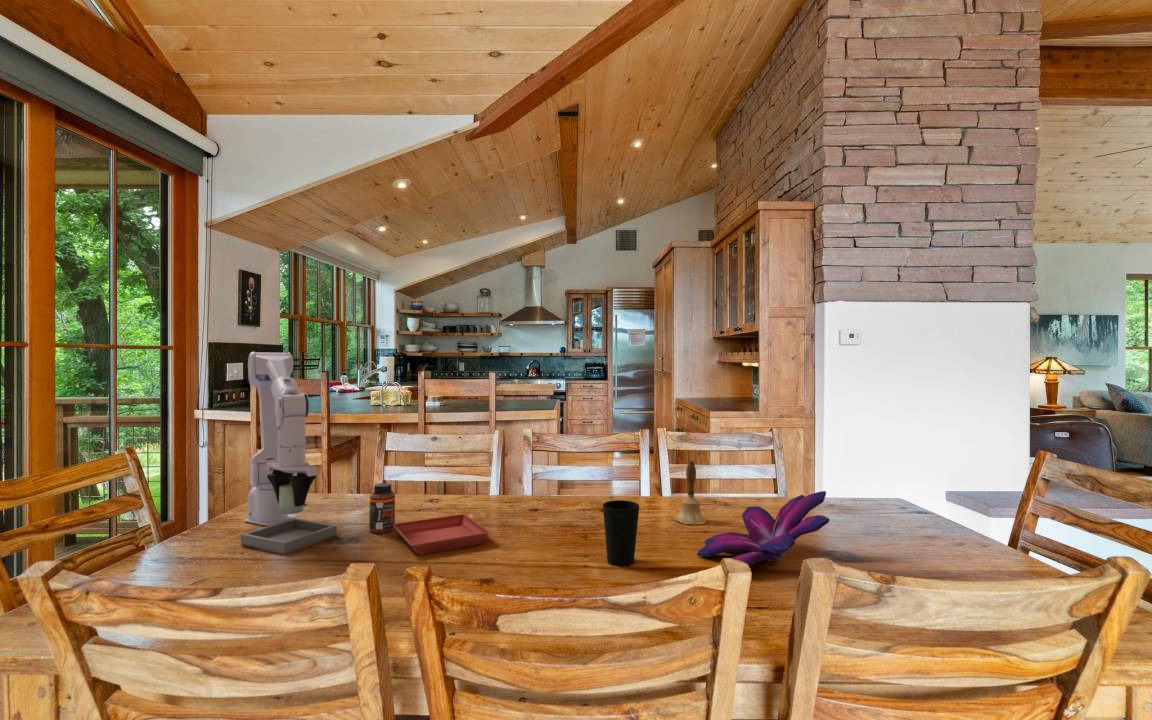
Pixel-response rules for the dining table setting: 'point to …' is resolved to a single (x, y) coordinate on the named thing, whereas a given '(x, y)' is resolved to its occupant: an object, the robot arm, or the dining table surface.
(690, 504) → the hand bell
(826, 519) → the decorative flower
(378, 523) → the supplement bottle
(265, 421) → the robot arm
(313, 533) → the tray
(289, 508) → the green cylinder
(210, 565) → the dining table surface
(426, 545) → the plant saucer
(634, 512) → the cup
